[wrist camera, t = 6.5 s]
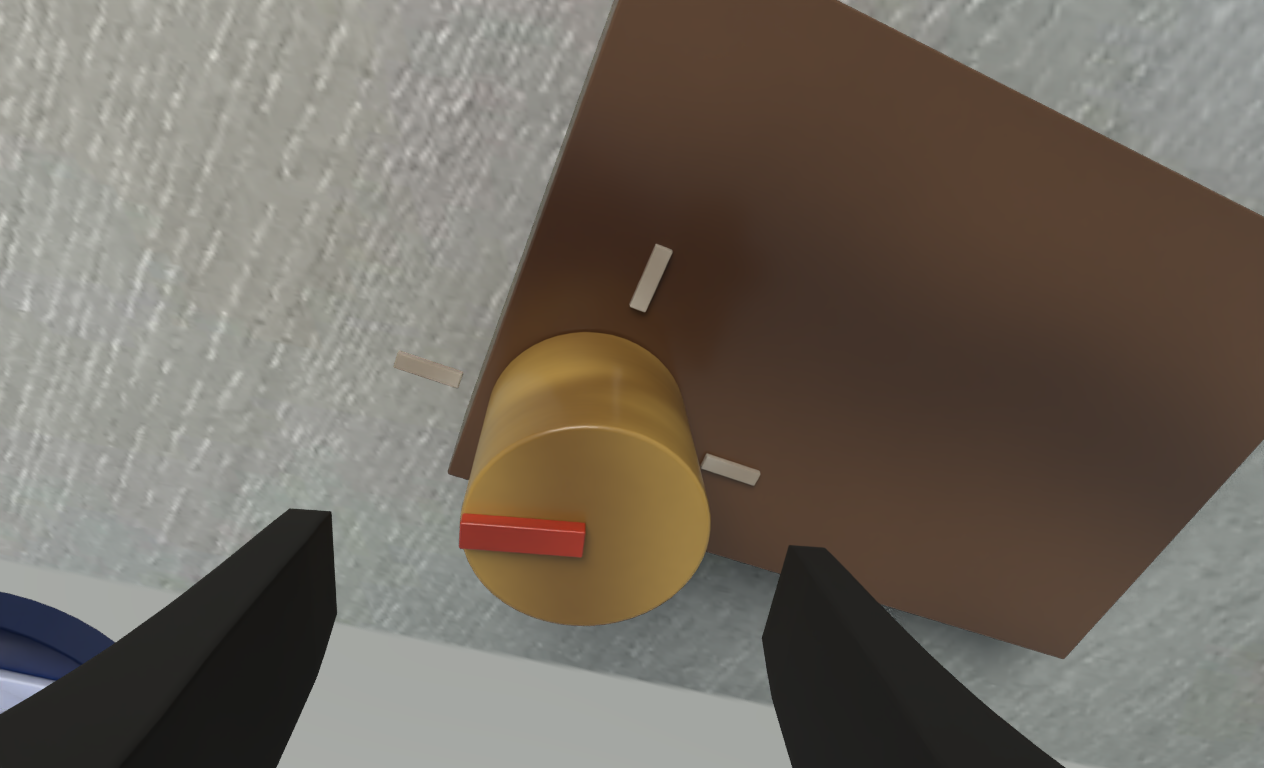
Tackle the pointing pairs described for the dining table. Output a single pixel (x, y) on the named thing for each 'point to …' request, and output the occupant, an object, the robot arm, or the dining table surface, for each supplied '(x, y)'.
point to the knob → (585, 484)
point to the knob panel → (897, 309)
